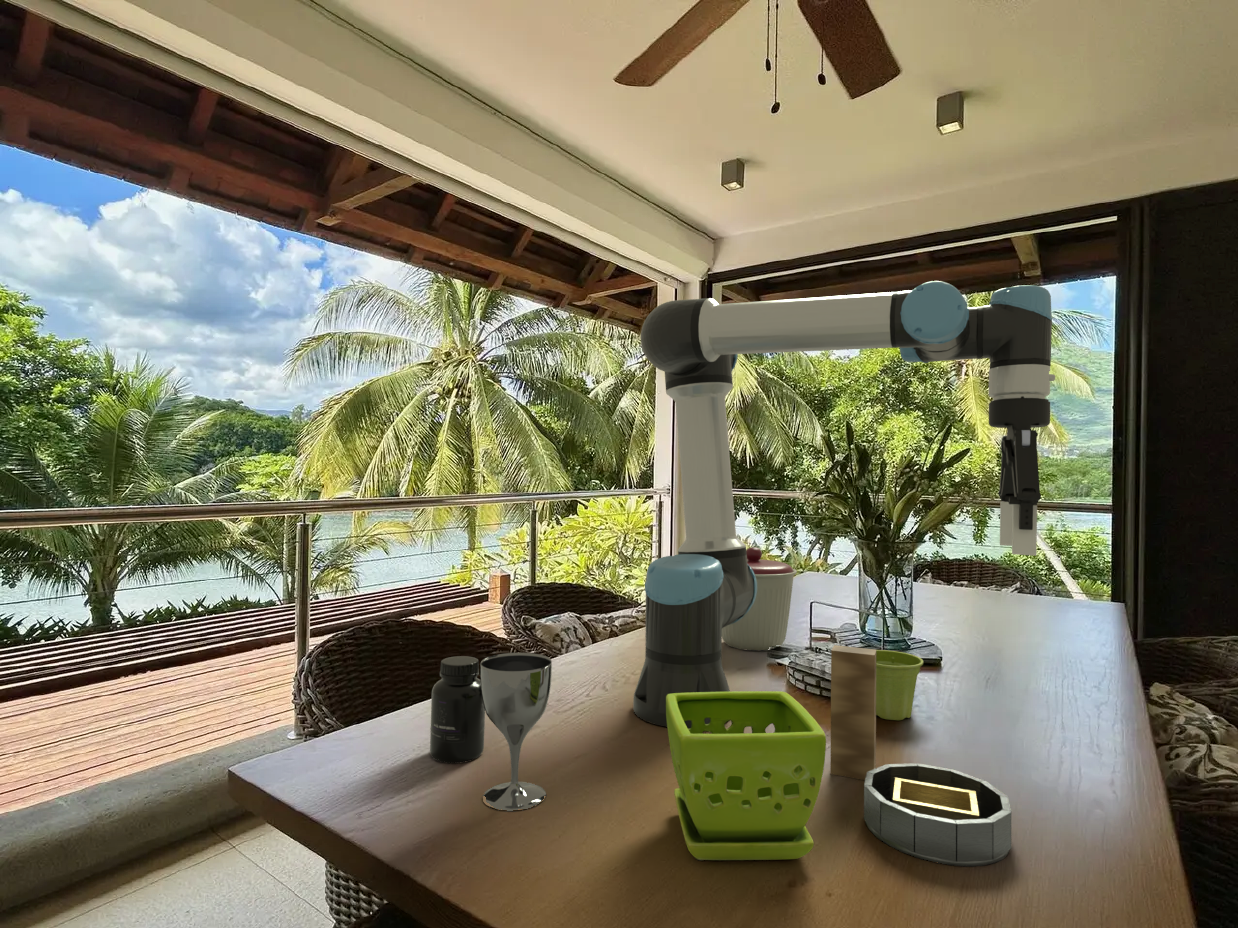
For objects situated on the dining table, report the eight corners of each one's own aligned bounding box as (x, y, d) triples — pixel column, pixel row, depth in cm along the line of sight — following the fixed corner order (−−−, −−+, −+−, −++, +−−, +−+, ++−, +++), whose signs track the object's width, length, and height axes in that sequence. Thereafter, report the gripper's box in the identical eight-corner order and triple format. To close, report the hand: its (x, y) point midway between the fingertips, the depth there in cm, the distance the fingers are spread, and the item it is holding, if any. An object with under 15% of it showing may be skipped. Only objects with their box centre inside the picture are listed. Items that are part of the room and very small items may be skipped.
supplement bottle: (430, 767, 86) (431, 668, 86) (429, 746, 92) (431, 655, 93) (486, 761, 88) (488, 665, 88) (482, 741, 94) (483, 652, 94)
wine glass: (516, 774, 84) (518, 649, 84) (564, 794, 79) (566, 660, 79) (463, 797, 78) (465, 662, 78) (511, 820, 73) (513, 675, 73)
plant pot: (929, 727, 102) (929, 667, 102) (861, 722, 104) (861, 663, 104) (915, 706, 111) (915, 651, 111) (853, 702, 113) (853, 648, 113)
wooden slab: (830, 773, 85) (831, 650, 85) (833, 764, 88) (834, 645, 88) (873, 781, 83) (874, 655, 83) (875, 771, 86) (876, 649, 86)
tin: (859, 846, 68) (859, 805, 68) (869, 790, 81) (870, 755, 81) (1017, 880, 63) (1017, 835, 63) (1002, 814, 75) (1002, 777, 75)
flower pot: (788, 804, 77) (789, 688, 77) (830, 876, 63) (831, 735, 63) (661, 804, 77) (663, 688, 77) (676, 877, 63) (678, 735, 63)
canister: (696, 638, 156) (697, 544, 156) (769, 634, 161) (769, 542, 162) (733, 659, 139) (734, 552, 139) (813, 653, 144) (813, 550, 144)
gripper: (1068, 387, 85) (1066, 561, 85) (1035, 407, 108) (1032, 543, 108) (999, 389, 88) (996, 557, 88) (980, 407, 111) (978, 541, 111)
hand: (1016, 550), depth 98 cm, fingers open, 13 cm apart
